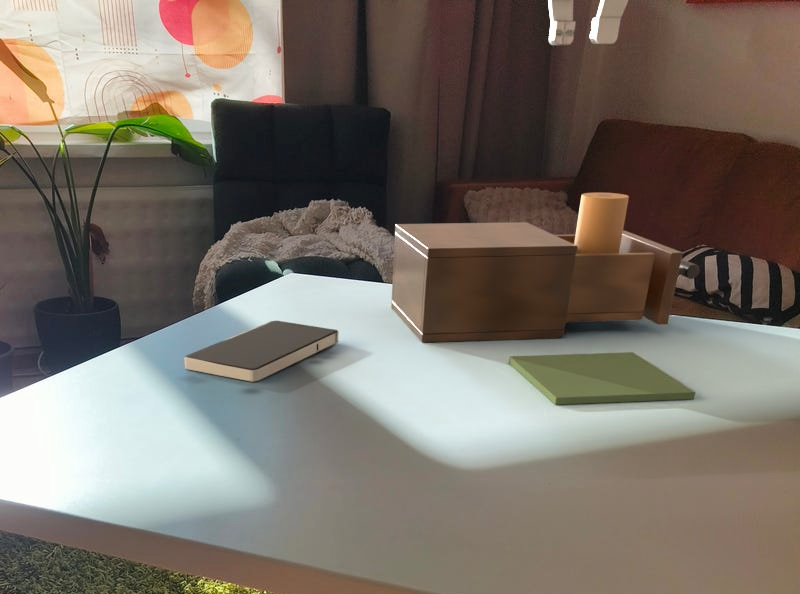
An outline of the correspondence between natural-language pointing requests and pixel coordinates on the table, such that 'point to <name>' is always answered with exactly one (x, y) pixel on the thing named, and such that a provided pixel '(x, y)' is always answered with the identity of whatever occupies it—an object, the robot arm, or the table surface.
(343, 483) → the table surface
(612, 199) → the paper roll
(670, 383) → the mat
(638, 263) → the drawer
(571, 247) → the cabinet
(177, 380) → the table surface
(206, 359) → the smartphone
